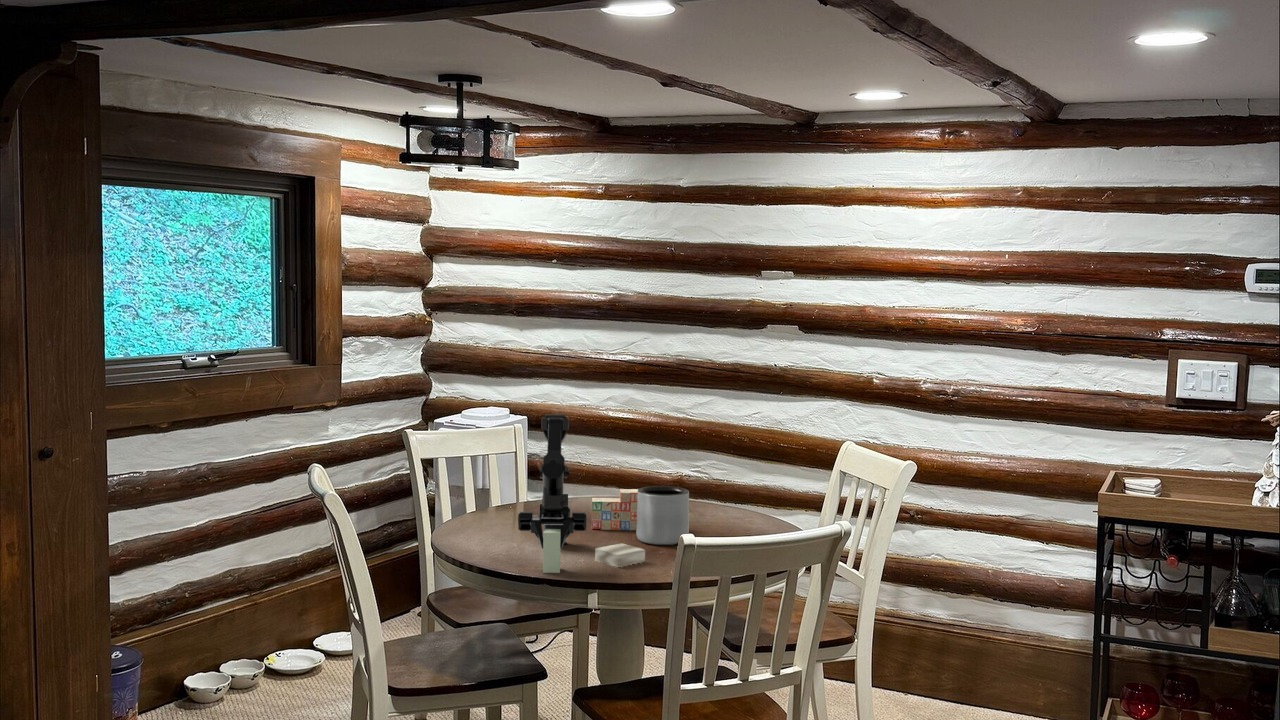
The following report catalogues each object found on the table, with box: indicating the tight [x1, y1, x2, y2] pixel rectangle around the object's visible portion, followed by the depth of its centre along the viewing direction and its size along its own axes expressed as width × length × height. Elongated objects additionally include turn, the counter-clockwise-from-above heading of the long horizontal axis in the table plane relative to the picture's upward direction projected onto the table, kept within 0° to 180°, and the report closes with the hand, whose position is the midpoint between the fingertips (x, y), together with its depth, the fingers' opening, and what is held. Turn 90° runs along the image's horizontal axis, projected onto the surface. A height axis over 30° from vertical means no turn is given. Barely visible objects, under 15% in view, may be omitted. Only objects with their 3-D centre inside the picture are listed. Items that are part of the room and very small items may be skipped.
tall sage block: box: [542, 528, 561, 574], centre depth 303 cm, size 5×5×11 cm
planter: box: [635, 485, 690, 546], centre depth 342 cm, size 16×16×16 cm
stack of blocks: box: [591, 488, 639, 531], centre depth 358 cm, size 21×6×12 cm, turn 92°
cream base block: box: [594, 542, 646, 568], centre depth 315 cm, size 10×10×4 cm
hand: (551, 547), depth 302 cm, fingers closed on tall sage block, 5 cm apart
